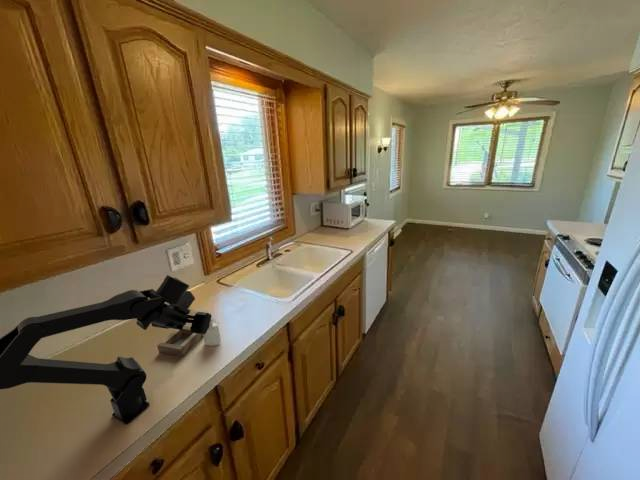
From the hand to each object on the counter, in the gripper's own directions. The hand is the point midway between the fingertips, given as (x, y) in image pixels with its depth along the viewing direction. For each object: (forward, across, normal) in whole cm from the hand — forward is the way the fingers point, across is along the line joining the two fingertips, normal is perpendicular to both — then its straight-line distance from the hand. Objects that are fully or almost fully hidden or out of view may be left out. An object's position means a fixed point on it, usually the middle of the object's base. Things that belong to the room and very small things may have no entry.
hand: (197, 324), depth 92 cm
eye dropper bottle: (+13, 0, +4) cm, 14 cm away
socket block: (+10, +11, +7) cm, 16 cm away
